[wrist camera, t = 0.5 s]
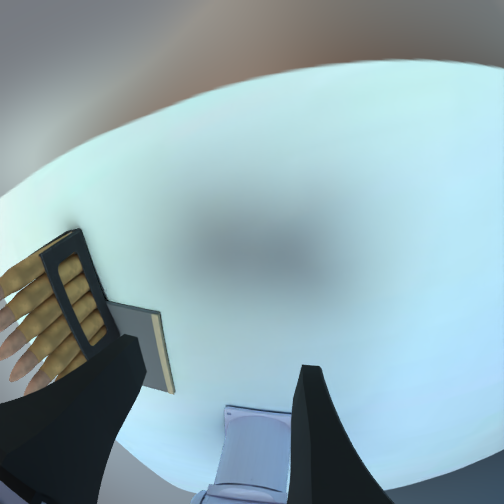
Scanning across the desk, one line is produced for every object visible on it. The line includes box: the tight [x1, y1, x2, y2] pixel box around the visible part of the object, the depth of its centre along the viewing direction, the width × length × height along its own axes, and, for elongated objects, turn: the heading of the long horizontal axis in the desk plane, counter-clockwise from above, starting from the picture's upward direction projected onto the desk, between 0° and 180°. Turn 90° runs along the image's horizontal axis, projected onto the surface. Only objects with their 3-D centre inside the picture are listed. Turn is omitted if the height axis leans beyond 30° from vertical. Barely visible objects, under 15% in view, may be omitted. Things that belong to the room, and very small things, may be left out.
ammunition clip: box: [0, 229, 120, 396], centre depth 17 cm, size 11×2×12 cm, turn 10°
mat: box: [106, 301, 175, 394], centre depth 26 cm, size 11×13×1 cm
